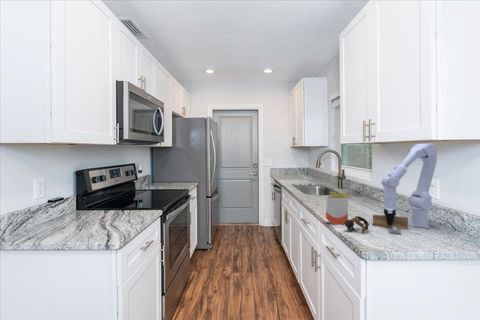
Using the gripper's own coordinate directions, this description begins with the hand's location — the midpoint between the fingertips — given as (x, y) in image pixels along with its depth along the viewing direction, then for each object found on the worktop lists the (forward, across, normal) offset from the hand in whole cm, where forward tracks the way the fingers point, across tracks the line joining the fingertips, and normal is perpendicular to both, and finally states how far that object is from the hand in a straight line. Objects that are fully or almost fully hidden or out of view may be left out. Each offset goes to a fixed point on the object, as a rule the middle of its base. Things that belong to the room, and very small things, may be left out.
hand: (389, 223), depth 138 cm
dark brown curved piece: (+2, +15, -15) cm, 22 cm away
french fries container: (+2, +6, -26) cm, 27 cm away
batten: (+2, 0, 0) cm, 2 cm away
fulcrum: (+1, +10, +2) cm, 10 cm away
